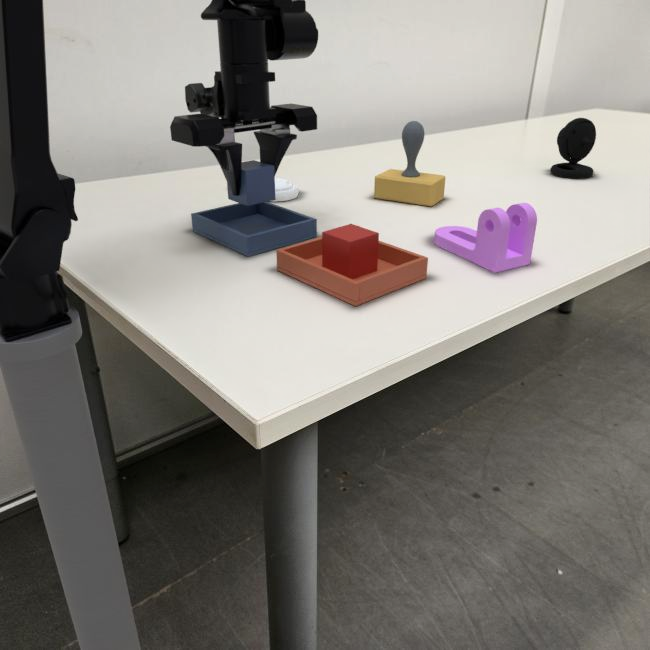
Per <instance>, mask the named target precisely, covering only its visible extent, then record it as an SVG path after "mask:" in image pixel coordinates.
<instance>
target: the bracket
mask: <svg viewBox="0 0 650 650" xmlns="http://www.w3.org/2000/svg"><path fill="white" fill-rule="evenodd" d="M537 224H538V215H537V212H536V209H534V207H533V205H531V204H530V203H527V202H520V203H514V204H511V205H510V206H508V207H507V209H506V210H504V209H503V208H502V207H494V208H493V207H492V208H487V209H485V210H483V211H482V212H481V213H480V215H479V216H478V220H477V226H476V229H473V228H472V227H471V228H470V227H466V226H460V225H447V226H440V227H438V228H436V229H435V230H434V238H433V243H434V245H436V246H437V247H439V248H441V249H443V250H446V251H447V252H450V253H452V254H453V255H456V256H458V257H460V258H462V259H465V260H467V261H469V262H471V263H473V264H475V265H477V266H479V267H480V268H481V267H482V268H483V269H486V270H487V271H490V272H492V273H494V274H496V273H500V272H504V271H508V270H512V269H516V268H517V269H518V268H520V267H524V266H527V265H528V266H529V265H531V260H532V255H533V248H534V243H535V236H536V230H537Z"/></svg>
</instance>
